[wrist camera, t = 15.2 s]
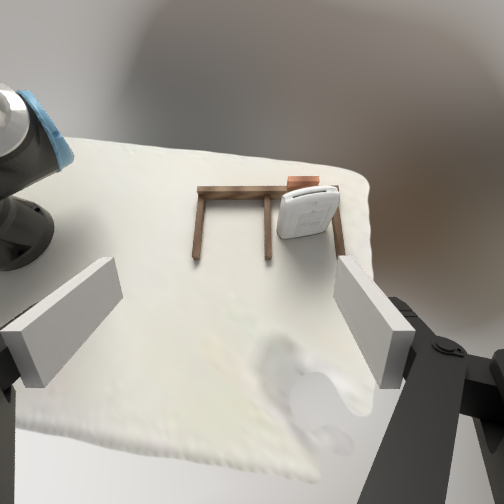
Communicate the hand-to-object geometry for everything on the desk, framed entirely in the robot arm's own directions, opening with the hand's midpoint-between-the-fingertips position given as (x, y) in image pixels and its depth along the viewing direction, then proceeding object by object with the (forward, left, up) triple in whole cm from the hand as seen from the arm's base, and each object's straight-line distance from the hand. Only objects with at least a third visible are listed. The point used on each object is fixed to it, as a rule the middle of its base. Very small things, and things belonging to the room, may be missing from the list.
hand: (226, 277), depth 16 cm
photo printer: (+11, +21, -33) cm, 41 cm away
